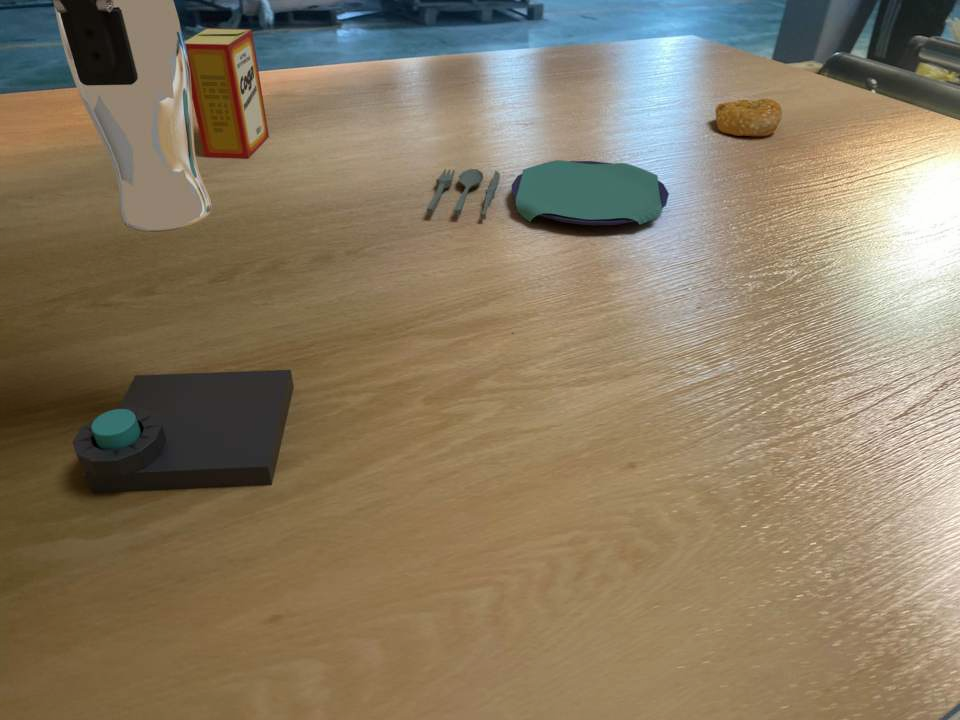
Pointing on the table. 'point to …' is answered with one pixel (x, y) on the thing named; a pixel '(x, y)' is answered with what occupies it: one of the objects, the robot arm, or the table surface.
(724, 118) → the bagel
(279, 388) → the black flat square block
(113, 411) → the button
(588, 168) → the cutlery set
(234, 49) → the baking soda box
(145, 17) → the beer glass
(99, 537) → the table surface
